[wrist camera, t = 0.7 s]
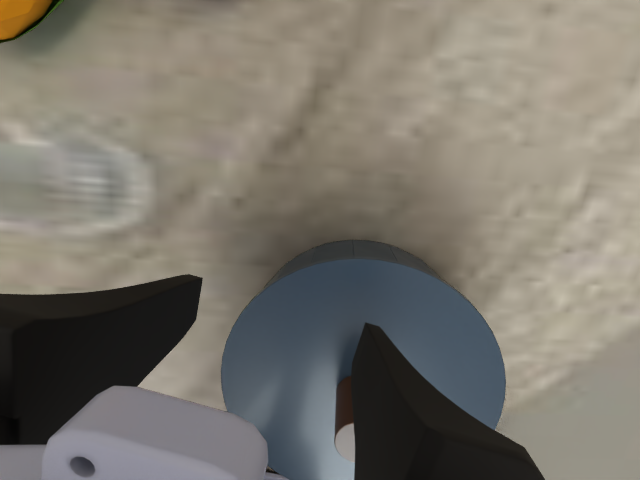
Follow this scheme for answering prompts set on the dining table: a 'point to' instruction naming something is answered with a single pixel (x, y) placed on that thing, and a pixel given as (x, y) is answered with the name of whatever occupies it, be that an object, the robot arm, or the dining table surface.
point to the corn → (23, 16)
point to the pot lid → (349, 356)
